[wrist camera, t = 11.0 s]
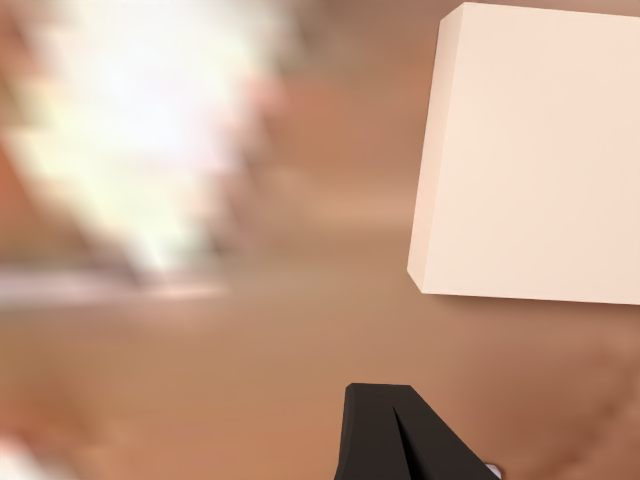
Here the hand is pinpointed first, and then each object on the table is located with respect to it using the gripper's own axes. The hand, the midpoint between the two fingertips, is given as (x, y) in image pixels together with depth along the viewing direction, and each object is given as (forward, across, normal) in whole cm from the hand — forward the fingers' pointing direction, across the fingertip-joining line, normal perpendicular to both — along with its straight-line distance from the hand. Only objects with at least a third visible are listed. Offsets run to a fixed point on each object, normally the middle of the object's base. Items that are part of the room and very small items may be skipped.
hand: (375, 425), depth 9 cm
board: (+10, -9, -5) cm, 14 cm away
